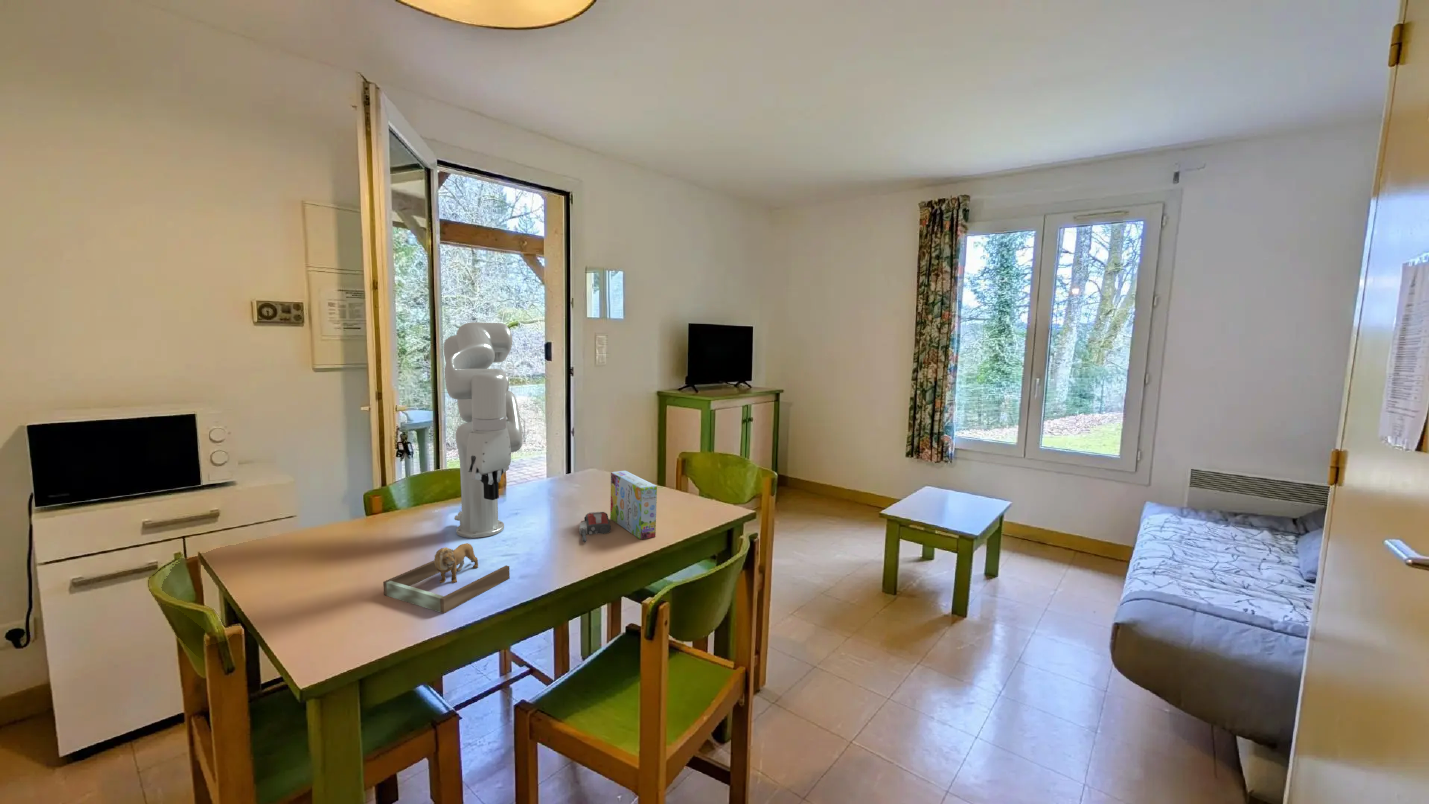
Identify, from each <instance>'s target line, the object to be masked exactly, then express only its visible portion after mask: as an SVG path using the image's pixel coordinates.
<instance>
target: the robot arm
mask: <svg viewBox="0 0 1429 804" xmlns="http://www.w3.org/2000/svg"><path fill="white" fill-rule="evenodd" d="M512 347H513V334H512V331H511V328H509V326H507V325H506V324H504V323H501V322H479V321H477V322H476V321H475V322H466V323H463V324H462V325H461V326H459V328H458V329H457V332H456V334H455V335H454V334H453V335H451V336H448V337H447V338H446V339H445V340H444V343H443V357H444V360H445V365H444V381H445V382H444V383H445V389H446V392H447V394H448V395H449V397H450V398H452V399H453V400H457V406H458V408H457V409H458V413H459V416H460V418H461V420H462V421H464V422H465V423H462V424H461V425H459V426H458V427H457V428H456V431H455V442H456V443H455V444H456V447H457V453H458V459H459V470H460V471H459V472H460V495H461V497H460V498H461V511H459V512H458V513H457V515H454V518H453V519H454V520H455V521H459V525H458V526H457V527H456V535H458V536H460V537H463V538H468V539H469V538H470V539H472V538H474V539H475V538H477V539H478V538H484V537H485V538H486V537H490V536H493V535H496V534H499V533H501V532H503V530H504V529H505V523H504V522H503V521H501V520H499V505H498V504H499V503H498V502H499V498H500V497H499V495H500V494H499V489H500V487H499V483H500V482H501V479H502V476H503V474H505V473H506V472H507V471H508V470H509V469H510V465H511V462H512V453H515V452H518V451H519V450H520V449H521V448H522V446H523V444H524V443H523V442H524V441H523V438H524V437H523V436H524V435H523V431H522V425H521V417H520V413H519V406H518V403H517V402H518V401H517V399H516V396H515V394H514V393H513V392H512V391H511V390H509V389H510V379H509V375H507V374H506V372H505V371H504V370H503V369H499V368H490V367H491V366H492V364H496V363H502V362H504V361H505V360H506V359H507V357H508V355H509V354H510V352H511V349H512Z"/></svg>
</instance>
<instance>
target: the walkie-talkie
mask: <svg viewBox="0 0 1429 804" xmlns="http://www.w3.org/2000/svg"><path fill="white" fill-rule="evenodd" d="M583 519H584V521H581V522H580V523H579V527H578V528H579V531H578V532H579V535H580V536H581V538H582V542H583V543H586V542H587V535H589V536H591V535H598V534H599V535H600V534H603V535H605V534H609V533H611V523H610V519H609V515H608V513H607V512H605V511H597V512H595V511H594V512H588V513H587V514H585V516H584V518H583Z"/></svg>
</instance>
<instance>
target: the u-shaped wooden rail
mask: <svg viewBox="0 0 1429 804" xmlns="http://www.w3.org/2000/svg"><path fill="white" fill-rule="evenodd" d="M434 562H435V561H434V560H431V561H430V562H427V563H424V564H422V565H419V566H417V567H415V568H413V569H410V570H408V571H406V572H402V573H400V574H399V575H396V576H393V577H392V578H389V579H386V580H384V581H383V596H386V597H390V598H393V599H395V600H400V601H402V602H404V603H410V604H413V605H416V606H419V607H422V608H424V609H425V608H426V609H429V610H432V611H435V612H437V613H442V614H446V613H448V612H450V611H451V610H453V609H455V608H457V607H459V606H460V605H463V604H464V603H466V602H468V601H470V600H472V599H474V598H476V597H477V596H480V595H481V594H483V593H485V592H488V591H489V590H491V589H493V588H494V587H496V586H498V585H501V583H505V582H506V581H508V580H510V572H511V571H510V565H504V566H502V567H500V568H497V569H496V570H493V571H491V572H490V573H488V574H486V575H484V576H482V577H480V578H478V579H476V580H474V581H472V582H469V583H468V584H466V585H464V586H462V587H460V588H458V589H456V590H454V591H452V592H450V593H448V594H446V595H442V594H437V593H434V592H431V591H428V590H424V589H421V588H417V587H413V586H412V585H415V584H417V583H419V582H421V581H423V580H426V579H428V578H430V577H433V576H434V575H437V574H440V572H439V571H438V570H437V569H436V568H435V563H434Z"/></svg>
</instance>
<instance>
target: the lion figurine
mask: <svg viewBox="0 0 1429 804" xmlns="http://www.w3.org/2000/svg"><path fill="white" fill-rule="evenodd" d="M465 558H467V559H469V560H470V562H471V563H473V565H472V568H473V569H477V568H479V560H478V557H476V554H475V552H474V547H473V545H472V544H470V543H469V542H468V543H467V542H466V543H462V544H460V545H458V546H457V547H456V548H455V549H452V548H449V547H446V546H445V547H441V548H440V549H438V550H437V551H436V553H435V554H434V559H433V561H435V562H434V563H435V568H436V569H437V570H438V571H439V574H440V577H441V579H439V583H440V584H444V583H445V582H446V577H447V576H446V573H449V572H451V578H450V580H451V581H450V583H451V584H454V583H458V578H457V572H460V571H462V569H463V567H464V565H465ZM458 565H459V566H458ZM457 566H458V567H457Z"/></svg>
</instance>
